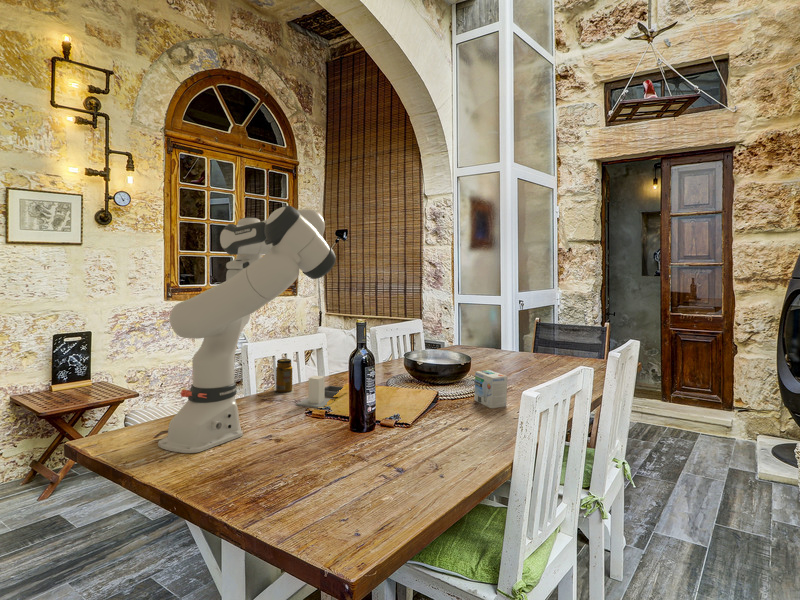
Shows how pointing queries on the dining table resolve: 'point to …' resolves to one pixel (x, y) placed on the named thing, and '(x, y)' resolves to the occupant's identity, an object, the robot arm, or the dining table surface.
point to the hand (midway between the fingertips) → (249, 302)
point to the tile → (313, 405)
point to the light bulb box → (490, 388)
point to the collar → (331, 388)
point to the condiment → (284, 377)
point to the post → (316, 389)
